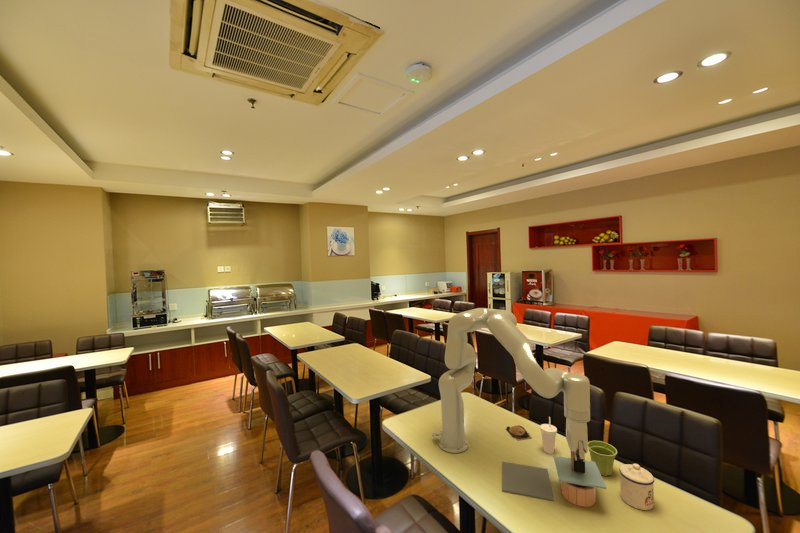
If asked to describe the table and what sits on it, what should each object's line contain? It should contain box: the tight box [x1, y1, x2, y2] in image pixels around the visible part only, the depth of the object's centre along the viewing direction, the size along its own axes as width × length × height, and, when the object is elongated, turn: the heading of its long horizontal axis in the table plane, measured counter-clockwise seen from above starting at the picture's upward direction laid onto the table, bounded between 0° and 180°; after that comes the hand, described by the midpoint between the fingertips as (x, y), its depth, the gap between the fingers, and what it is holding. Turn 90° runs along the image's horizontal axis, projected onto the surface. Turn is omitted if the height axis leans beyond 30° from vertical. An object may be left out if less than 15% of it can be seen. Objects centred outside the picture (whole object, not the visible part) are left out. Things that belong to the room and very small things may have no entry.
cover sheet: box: [553, 449, 607, 490], centre depth 106 cm, size 13×13×7 cm
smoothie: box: [539, 416, 558, 455], centre depth 131 cm, size 6×6×14 cm
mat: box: [501, 461, 555, 502], centre depth 114 cm, size 16×16×1 cm
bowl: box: [560, 482, 597, 508], centre depth 106 cm, size 10×10×6 cm
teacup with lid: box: [619, 463, 655, 511], centre depth 104 cm, size 12×9×12 cm
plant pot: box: [588, 440, 618, 477], centre depth 118 cm, size 9×9×9 cm
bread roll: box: [505, 424, 533, 442], centre depth 145 cm, size 11×8×4 cm
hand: (577, 466), depth 106 cm, fingers closed on cover sheet, 4 cm apart
